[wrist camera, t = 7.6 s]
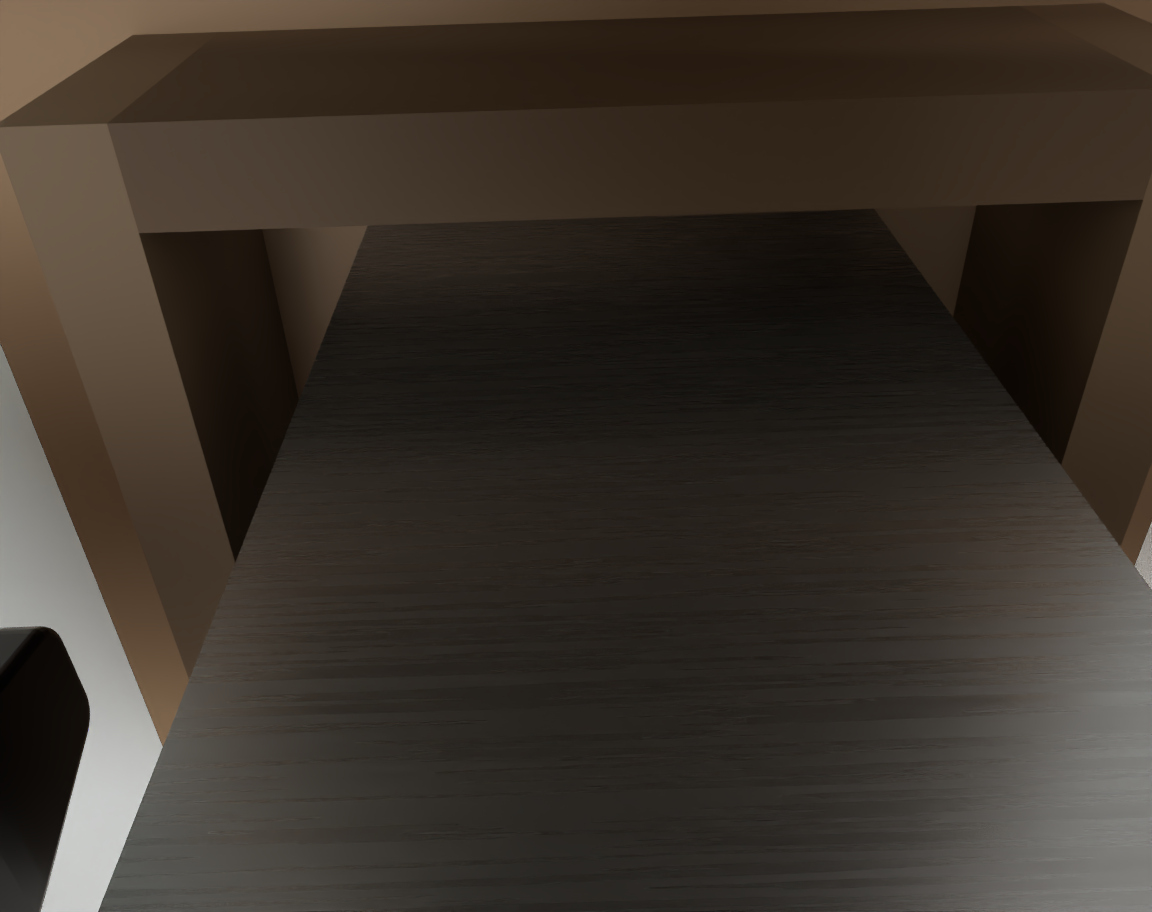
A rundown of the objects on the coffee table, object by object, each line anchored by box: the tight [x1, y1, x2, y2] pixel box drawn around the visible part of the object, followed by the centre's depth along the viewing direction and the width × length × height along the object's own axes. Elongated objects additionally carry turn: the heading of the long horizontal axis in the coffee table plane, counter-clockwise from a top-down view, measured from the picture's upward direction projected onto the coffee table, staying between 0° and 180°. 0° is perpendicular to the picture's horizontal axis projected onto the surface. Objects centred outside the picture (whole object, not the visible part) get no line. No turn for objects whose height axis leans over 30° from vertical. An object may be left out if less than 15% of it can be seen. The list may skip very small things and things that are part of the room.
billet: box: [98, 209, 1152, 912], centre depth 7 cm, size 4×4×7 cm
